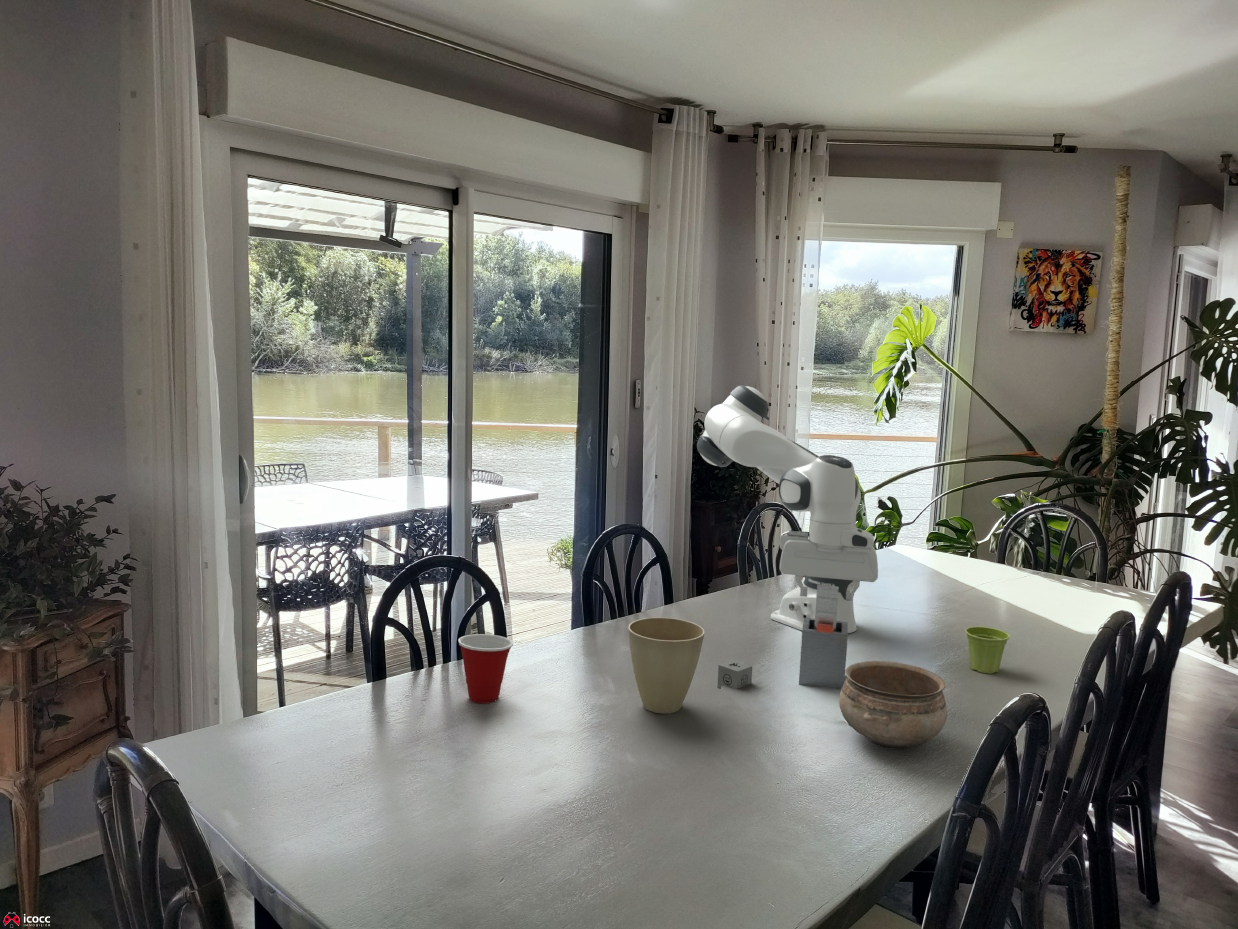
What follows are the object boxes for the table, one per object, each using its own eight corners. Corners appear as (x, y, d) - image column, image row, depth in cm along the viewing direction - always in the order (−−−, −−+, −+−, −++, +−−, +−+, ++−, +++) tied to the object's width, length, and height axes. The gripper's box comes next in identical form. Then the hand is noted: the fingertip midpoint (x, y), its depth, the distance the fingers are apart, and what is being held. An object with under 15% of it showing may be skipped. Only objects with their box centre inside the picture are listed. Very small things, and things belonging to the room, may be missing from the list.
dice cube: (732, 682, 193) (733, 659, 192) (751, 689, 189) (752, 666, 189) (717, 687, 189) (718, 664, 189) (736, 694, 186) (737, 671, 185)
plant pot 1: (648, 727, 168) (651, 644, 166) (612, 698, 181) (614, 621, 179) (715, 714, 175) (719, 635, 173) (675, 688, 188) (679, 614, 186)
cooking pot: (925, 782, 150) (931, 711, 149) (816, 752, 160) (820, 685, 159) (957, 731, 171) (963, 669, 170) (859, 707, 181) (863, 648, 180)
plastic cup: (523, 698, 180) (524, 640, 178) (481, 713, 172) (482, 652, 170) (488, 683, 187) (489, 627, 185) (445, 697, 179) (446, 638, 177)
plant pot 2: (1010, 678, 201) (1013, 641, 200) (965, 674, 203) (969, 636, 202) (1001, 664, 210) (1004, 628, 209) (958, 660, 212) (962, 624, 211)
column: (810, 683, 191) (816, 590, 188) (811, 674, 196) (817, 584, 193) (832, 685, 189) (838, 592, 187) (832, 677, 195) (838, 586, 192)
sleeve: (780, 693, 187) (785, 626, 185) (785, 668, 203) (789, 605, 201) (860, 703, 183) (865, 634, 182) (859, 676, 199) (863, 613, 197)
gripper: (779, 532, 188) (775, 597, 190) (881, 540, 184) (876, 606, 185) (781, 527, 195) (777, 589, 196) (879, 534, 190) (875, 599, 191)
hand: (826, 598), depth 191 cm, fingers open, 8 cm apart
